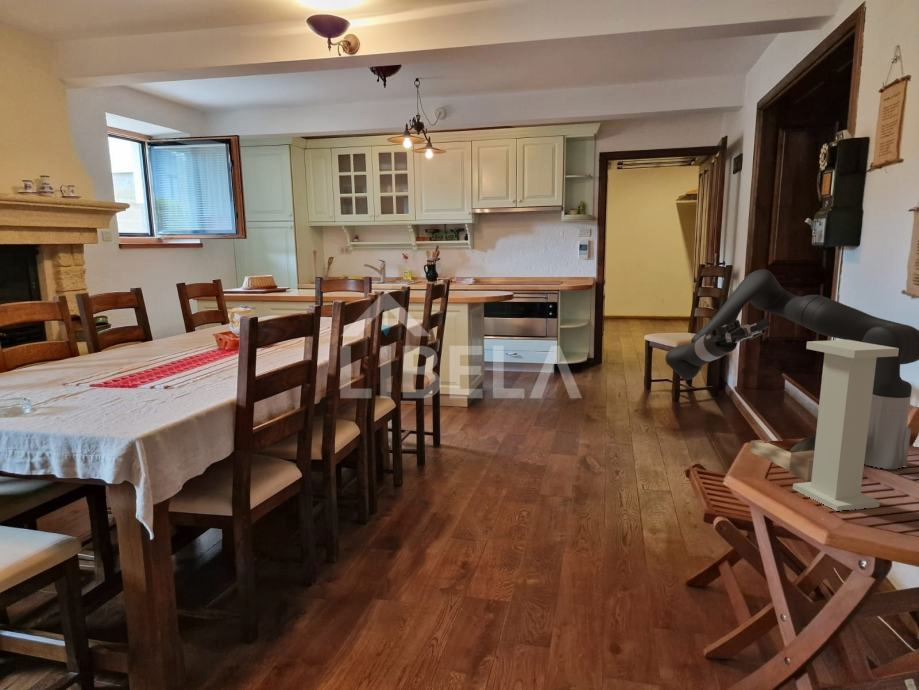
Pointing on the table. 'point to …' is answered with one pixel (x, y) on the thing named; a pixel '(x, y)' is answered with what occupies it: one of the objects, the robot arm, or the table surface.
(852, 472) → the stand
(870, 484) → the table surface
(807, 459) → the mallet
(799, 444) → the decorative stone
